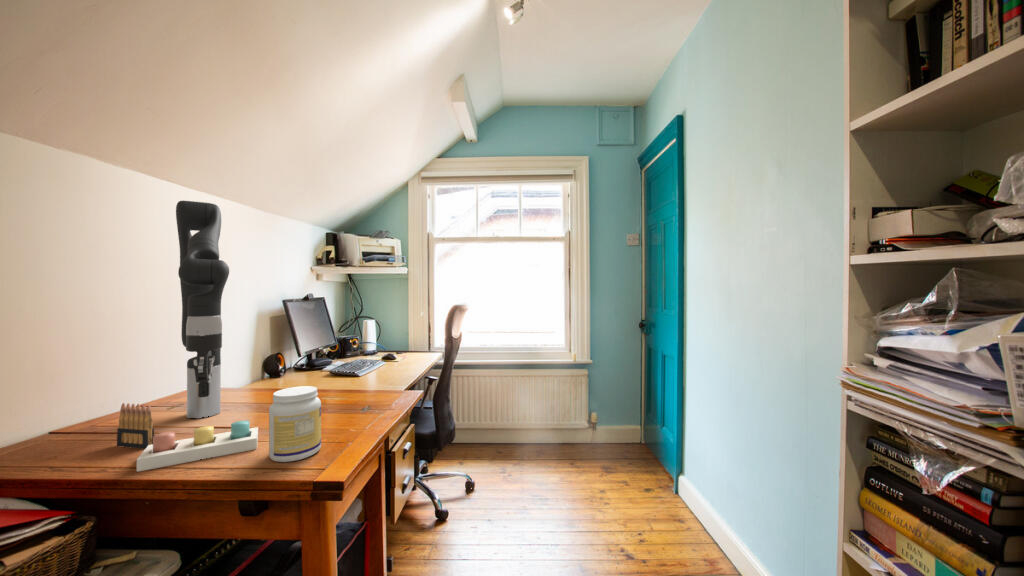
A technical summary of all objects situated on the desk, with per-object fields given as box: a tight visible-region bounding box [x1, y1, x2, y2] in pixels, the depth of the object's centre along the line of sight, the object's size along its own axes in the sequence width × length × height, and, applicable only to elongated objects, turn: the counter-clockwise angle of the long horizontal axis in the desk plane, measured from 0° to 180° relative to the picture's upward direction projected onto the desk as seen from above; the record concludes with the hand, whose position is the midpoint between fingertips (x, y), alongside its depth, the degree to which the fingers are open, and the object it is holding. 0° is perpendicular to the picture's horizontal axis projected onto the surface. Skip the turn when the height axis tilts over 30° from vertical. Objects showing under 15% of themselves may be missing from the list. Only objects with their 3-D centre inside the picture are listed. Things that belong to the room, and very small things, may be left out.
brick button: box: [153, 431, 176, 453], centre depth 96 cm, size 4×4×4 cm
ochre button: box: [193, 425, 215, 446], centre depth 101 cm, size 4×4×4 cm
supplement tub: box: [268, 385, 322, 463], centre depth 100 cm, size 12×12×17 cm
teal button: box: [230, 419, 250, 440], centre depth 105 cm, size 4×4×4 cm
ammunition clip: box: [116, 402, 155, 450], centre depth 105 cm, size 11×2×12 cm, turn 80°
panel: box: [136, 426, 259, 472], centre depth 101 cm, size 10×24×3 cm, turn 123°
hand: (204, 396), depth 101 cm, fingers closed
